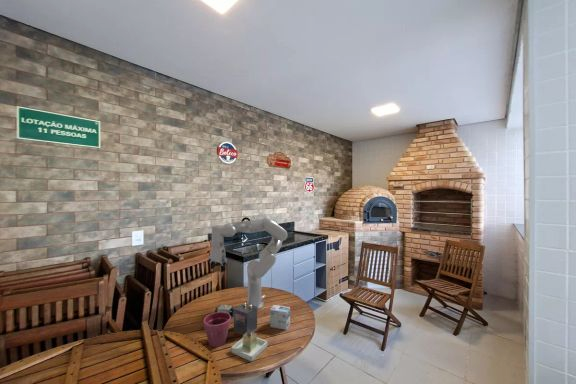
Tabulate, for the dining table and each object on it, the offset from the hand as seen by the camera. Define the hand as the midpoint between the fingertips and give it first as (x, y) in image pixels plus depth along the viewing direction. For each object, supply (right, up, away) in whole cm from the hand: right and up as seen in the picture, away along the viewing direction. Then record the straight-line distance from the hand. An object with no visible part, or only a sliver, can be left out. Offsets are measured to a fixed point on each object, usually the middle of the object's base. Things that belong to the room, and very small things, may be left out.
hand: (217, 270), depth 162 cm
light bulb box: (+42, -29, -15) cm, 53 cm away
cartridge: (+27, -28, -36) cm, 53 cm away
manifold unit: (+22, -29, -19) cm, 41 cm away
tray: (+27, -29, -36) cm, 54 cm away
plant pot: (+9, -29, -30) cm, 43 cm away
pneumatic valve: (+9, -29, -14) cm, 33 cm away
